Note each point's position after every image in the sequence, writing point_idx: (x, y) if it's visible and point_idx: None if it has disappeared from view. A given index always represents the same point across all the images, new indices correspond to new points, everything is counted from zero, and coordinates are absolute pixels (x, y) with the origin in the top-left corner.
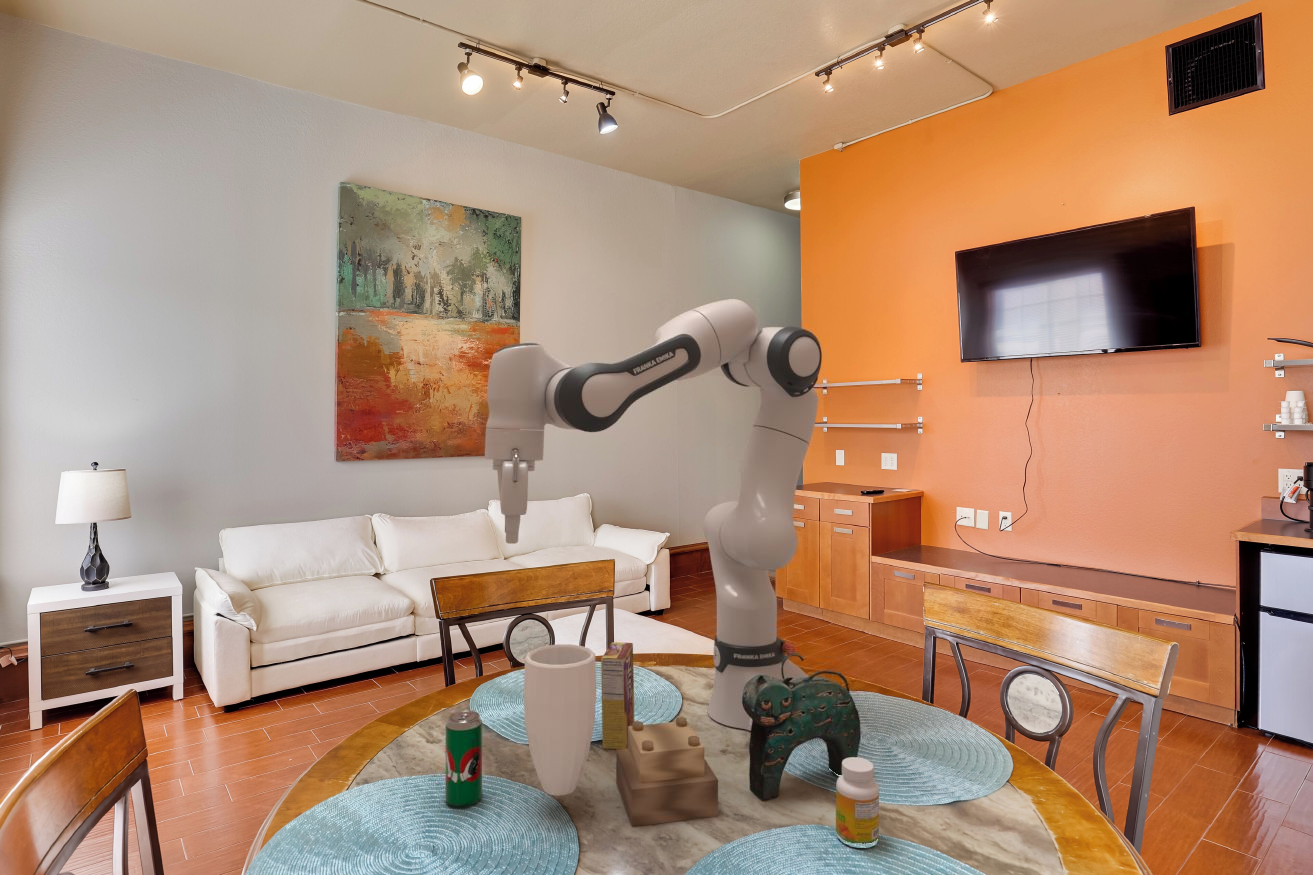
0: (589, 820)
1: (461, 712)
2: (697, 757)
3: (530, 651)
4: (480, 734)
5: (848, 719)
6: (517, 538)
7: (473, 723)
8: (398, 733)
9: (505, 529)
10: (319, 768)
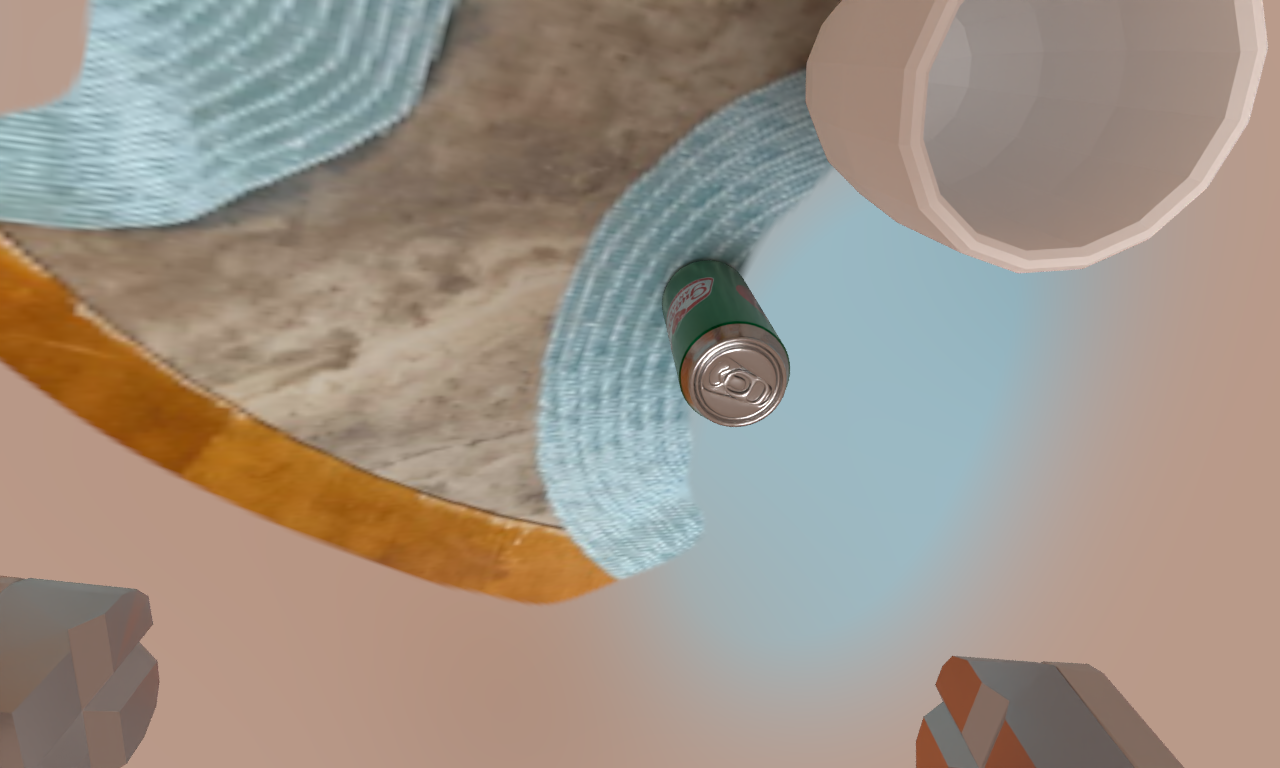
0: None
1: (703, 388)
2: None
3: (960, 237)
4: (761, 319)
5: None
6: (1127, 708)
7: (780, 355)
8: (269, 436)
9: (108, 764)
10: (440, 584)
